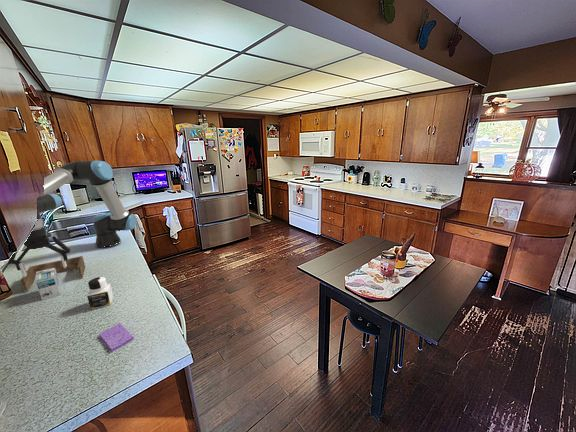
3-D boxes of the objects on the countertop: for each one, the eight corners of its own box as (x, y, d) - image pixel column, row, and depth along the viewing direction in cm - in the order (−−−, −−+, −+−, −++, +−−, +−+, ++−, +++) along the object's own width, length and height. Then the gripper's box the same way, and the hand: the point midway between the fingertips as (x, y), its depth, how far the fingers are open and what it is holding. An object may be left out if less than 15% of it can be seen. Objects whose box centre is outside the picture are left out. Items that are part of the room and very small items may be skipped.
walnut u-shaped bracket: (85, 266, 140) (82, 255, 138) (82, 278, 126) (79, 266, 125) (33, 278, 127) (30, 266, 126) (25, 292, 114) (20, 279, 112)
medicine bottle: (90, 309, 101) (83, 285, 98) (94, 301, 107) (88, 277, 104) (110, 305, 104) (104, 281, 101) (113, 296, 110) (108, 273, 107)
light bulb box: (61, 294, 112) (55, 274, 109) (41, 300, 108) (34, 279, 105) (60, 286, 120) (55, 266, 117) (42, 291, 115) (35, 271, 112)
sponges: (112, 353, 80) (111, 349, 79) (99, 337, 87) (98, 332, 86) (134, 340, 85) (134, 336, 84) (121, 325, 92) (120, 321, 92)
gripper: (-14, 237, 95) (4, 283, 101) (68, 225, 109) (79, 266, 115) (-7, 232, 101) (9, 276, 107) (70, 221, 115) (81, 260, 121)
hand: (46, 271), depth 111 cm, fingers open, 13 cm apart
